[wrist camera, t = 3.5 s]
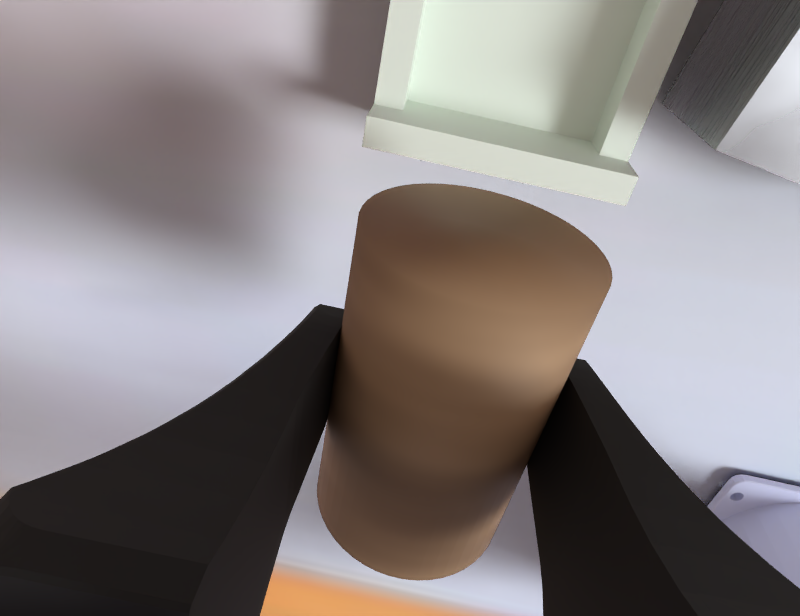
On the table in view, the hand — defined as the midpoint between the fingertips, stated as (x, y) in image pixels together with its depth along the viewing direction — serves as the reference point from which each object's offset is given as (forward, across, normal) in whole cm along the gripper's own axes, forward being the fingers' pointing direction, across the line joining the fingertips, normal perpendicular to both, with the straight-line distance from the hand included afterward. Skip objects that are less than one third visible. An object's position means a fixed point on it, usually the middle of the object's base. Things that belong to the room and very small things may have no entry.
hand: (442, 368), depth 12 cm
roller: (+2, 0, 0) cm, 2 cm away
